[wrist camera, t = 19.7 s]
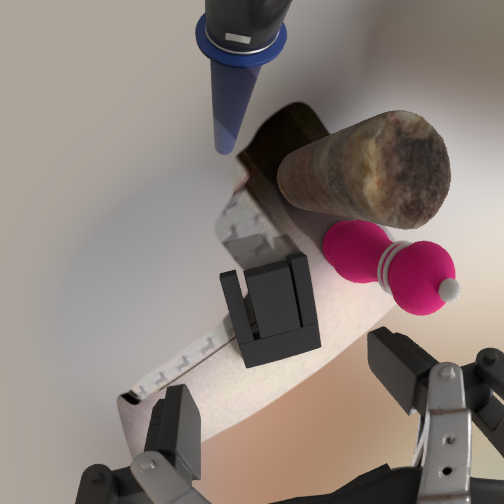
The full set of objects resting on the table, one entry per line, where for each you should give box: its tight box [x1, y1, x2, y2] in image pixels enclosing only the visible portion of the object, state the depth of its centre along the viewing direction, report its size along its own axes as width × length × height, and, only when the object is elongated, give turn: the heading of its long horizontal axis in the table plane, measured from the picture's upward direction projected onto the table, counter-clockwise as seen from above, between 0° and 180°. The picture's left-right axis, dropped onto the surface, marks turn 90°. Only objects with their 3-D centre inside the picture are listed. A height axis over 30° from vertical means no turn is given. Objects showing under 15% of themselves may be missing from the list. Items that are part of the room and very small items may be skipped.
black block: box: [243, 261, 300, 338], centre depth 33 cm, size 8×5×3 cm, turn 13°
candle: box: [277, 110, 451, 230], centre depth 23 cm, size 8×7×20 cm
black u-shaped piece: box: [220, 252, 321, 368], centre depth 34 cm, size 13×10×2 cm
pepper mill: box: [323, 220, 460, 315], centre depth 25 cm, size 7×7×20 cm
